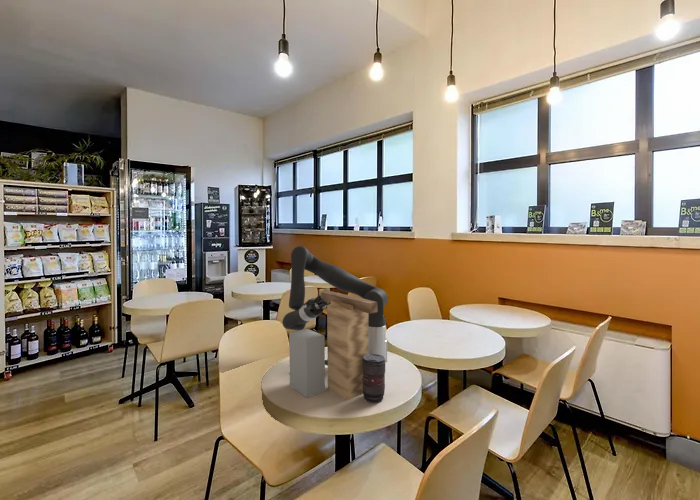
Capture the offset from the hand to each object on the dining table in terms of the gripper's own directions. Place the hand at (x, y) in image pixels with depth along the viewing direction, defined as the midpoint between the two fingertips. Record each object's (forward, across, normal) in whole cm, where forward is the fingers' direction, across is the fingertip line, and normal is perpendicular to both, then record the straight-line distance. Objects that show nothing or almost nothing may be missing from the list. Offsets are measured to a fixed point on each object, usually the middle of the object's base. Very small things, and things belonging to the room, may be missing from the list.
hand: (330, 295), depth 135 cm
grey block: (-18, -11, +29) cm, 36 cm away
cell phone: (-31, +13, +22) cm, 40 cm away
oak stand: (-8, 0, +35) cm, 36 cm away
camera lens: (+1, +3, +41) cm, 41 cm away
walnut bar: (+7, 0, +7) cm, 10 cm away
